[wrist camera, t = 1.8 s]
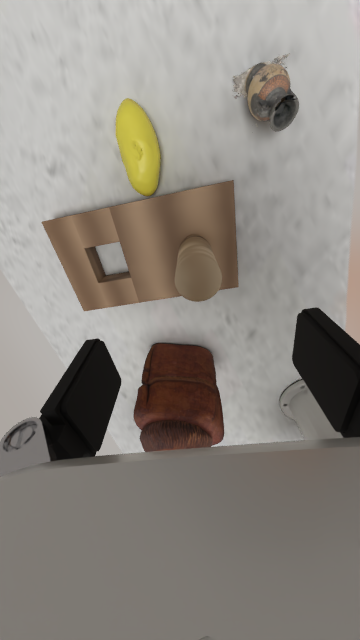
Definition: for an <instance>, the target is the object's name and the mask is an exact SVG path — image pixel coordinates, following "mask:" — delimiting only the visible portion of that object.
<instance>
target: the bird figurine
mask: <svg viewBox="0 0 360 640" xmlns="http://www.w3.org/2000/svg"><path fill="white" fill-rule="evenodd" d="M289 54H290V53H289ZM289 54H287V55H283V56H279V57H277V58H278V60H279V61H278V60H277V62H278V63H277V64H274V62H275V61H273V62H272V64H271V61H268V62H263V63H259V64H257V65H255V66H253V67H252V68H249V69H248V70H247V71H246V72H244V73H243V74H241V75H240V76H239V75H238V76H236V77H235V76H233V78H235V79H233V80H234V82H235V83H236V85H234V87H236V88H235V89H234V90H235V91H234V92H239V93H242V95H244V98H245V97H247V95H248V106H249V109H250V112H251V114H252V115H253V116H254V117H255V118H256V119H257V120H260V121H267V120H269V122H270V126H271V128H272V129H273V131H281V130H283V129H285V128H286V127H288V126H289V125H290V124H291V122H292V121H293V119H294V118H295V116H296V114H297V112H298V108H299V101H298V98H297V97H296V95H295V94H294V93H293V92H292V91H291V89H290V78H289V75H288V73H287V71H286V70H285V69H284V68H283V67H282V66H281V65H280V64H281V63H283V62H282V61H281V60H282V58H283V57H284V59H285V57H287V56H288V55H289ZM277 58H275V59H274V60H276V59H277ZM283 64H284V63H283ZM286 68H287V67H286ZM232 91H233V90H232ZM239 93H238V94H239ZM240 96H241V95H240ZM240 96H237V95H236V97H240ZM236 97H235V96H234V98H236ZM236 99H237V98H236ZM255 124H256V123H255ZM256 125H257V124H256ZM252 126H253V125H252ZM252 133H253V132H252Z"/></svg>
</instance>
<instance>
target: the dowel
mask: <svg viewBox="0 0 360 640" xmlns="http://www.w3.org/2000/svg"><path fill="white" fill-rule="evenodd" d="M221 283H222V274H221V270H220V268H219V266H218V263H217V261H216V259H215V256H214V254H213V251H212V249H211V247H210V244H209V243H208V241H207V240H206V239H204V238H203V237H201V236H199V235H190V236H188V237H187V238H186V239H185V240H184V241H183V242H182V243H181V245H180V247H179V252H178V259H177V266H176V272H175V286H176V288H177V290H178V292H179V293H180V294H181V295H182V296H183V297H184V298H186V299H188V300H191V301H198V302H199V301H205V300H207V299H209V298H211V297H213V296H214V295H215V294H216V293H217V291H218V290H219V288H220V286H221Z"/></svg>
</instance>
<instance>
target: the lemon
mask: <svg viewBox="0 0 360 640" xmlns="http://www.w3.org/2000/svg"><path fill="white" fill-rule="evenodd" d="M116 138H117V142H118V145H119V149H120V153H121V157H122V161H123V163H124V166H125V168H126V172H127V175H128V179H129V181H130V183H131V185H132V187H133V188H134V189H135V190H136V191H137V192H138V193H140V194H142V195H144V196H151V195H152V194H153V193H154V192H155V191H156V189H157V186H158V180H159V172H160V159H161V156H160V149H159V144H158V140H157V137H156V134H155V131H154V129H153V126H152V124H151V122H150V120H149V118H148V116H147V115H146V113H145V112H144V110H143V109H142V108H141V107H140V106H139V105H138V104H137V103H136V102H134V101H133V100H131V99H129V98H127V99H125V100H124V101H123V102H122V103H121V105H120V106H119V109H118V111H117V116H116Z"/></svg>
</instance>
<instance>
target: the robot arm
mask: <svg viewBox="0 0 360 640" xmlns="http://www.w3.org/2000/svg"><path fill="white" fill-rule="evenodd" d="M292 360H293V364H294V366H295V367H296V369H297V371H298V372H299V374H300V376H301V377H302V379H303V380H300V381H298V382H296V383H294V384H293V385H291V386H290V387H289V388H287V389H286V390H285V391H284V393H283V394H282V396H281V398H280V407H281V409H282V411H283V413H284V414H285V415H286V416H287V417H289V418H291V419H294V420H295V421H296V423H297V425H298V427H299V429H300V431H301V433H302V435H303V437H304V440H301V441H287V442H273V443H259V444H245V445H232V446H218V447H205V448H192V449H179V450H166V451H154V452H142V453H129V454H118V455H106V456H95V455H96V452H97V451H99V450H100V448H101V445H102V442H103V439H104V435H105V433H106V429H107V426H108V423H109V420H110V417H111V414H112V411H113V408H114V405H115V402H116V399H117V395H118V392H119V389H120V386H121V378H120V375H119V373H118V371H117V369H116V367H115V365H114V363H113V360H112V358H111V356H110V354H109V352H108V350H107V348H106V346H105V343H104V342H103V341H100V340H99V339H91V340H86V341H85V343H84V344H83V346H82V347H81V349H80V350H79V352H78V353H77V355H76V356H75V358H74V359H73V361H72V363H71V364H70V366H69V367H68V369H67V370H66V372H65V373H64V375H63V376H62V378H61V380H60V381H59V383H58V384H57V386H56V387H55V389H54V390H53V392H52V393H51V395H50V397H49V398H48V400H47V401H46V403H45V404H44V406H43V407H42V409H41V411H40V412H41V413H42V415H41V417H40V418H36V417H32V418H28V419H25V420H23V421H21V422H19V423H18V424H16V425H15V426H13V427H12V428H11V429H10V430H9V431H8V432H7V433H6V434H5V435H4V437H3V438H2V440H1V442H0V640H360V345H359V344H358V343H357V342H356V341H355V340H354V339H353V338H351V337H350V336H349V335H348V334H347V333H346V332H345V331H344V330H343V329H341V328H340V327H339V326H338V325H337V324H336V323H335V322H334V321H333V320H331V319H330V318H329V317H328V316H327V315H326V314H325V313H324V312H323V311H321V310H320V309H319V308H310V309H304V310H302V312H301V313H299V314H298V316H297V324H296V332H295V340H294V348H293V355H292Z"/></svg>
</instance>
